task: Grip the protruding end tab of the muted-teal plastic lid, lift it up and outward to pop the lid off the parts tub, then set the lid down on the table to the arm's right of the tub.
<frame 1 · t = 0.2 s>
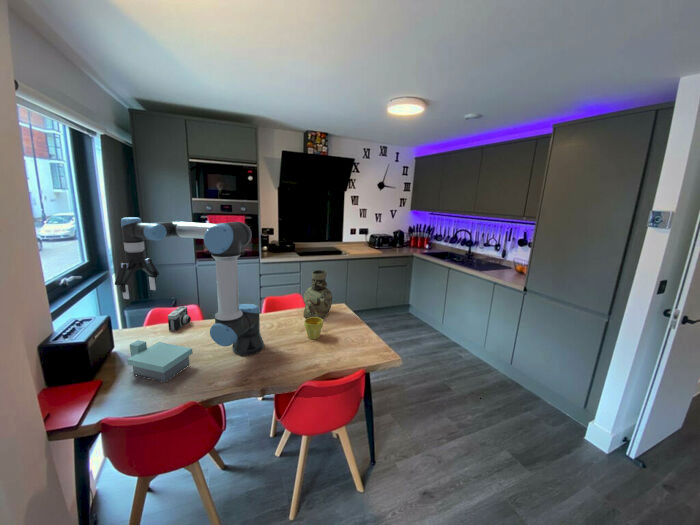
hand: (140, 294, 138), 28 cm above the table, fingers open, 13 cm apart
plant pot: (313, 337, 161), on the table
tub: (162, 370, 125), on the table
camera: (182, 326, 167), on the table
lid: (161, 355, 124), point 7 cm above the table, touching tub
ceramic vessel: (317, 316, 189), on the table
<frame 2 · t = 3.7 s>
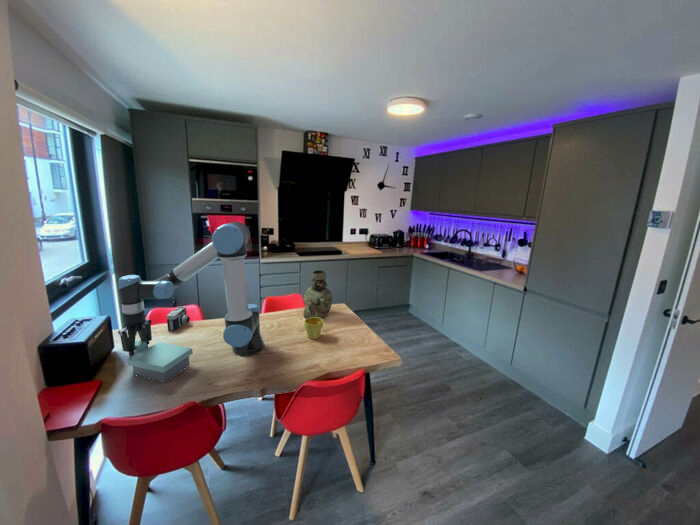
hand: (140, 360, 127), 3 cm above the table, fingers closed on lid, 4 cm apart
lid: (161, 355, 124), point 7 cm above the table, touching gripper, tub
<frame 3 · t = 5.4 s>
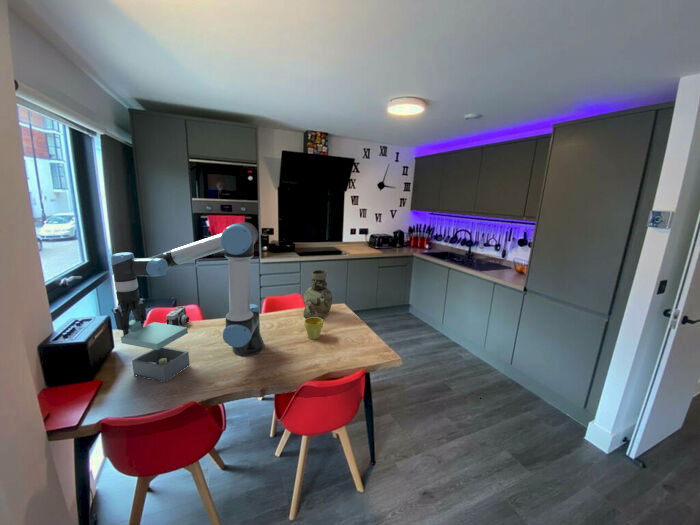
hand: (134, 339, 126), 12 cm above the table, fingers closed on lid, 4 cm apart
lid: (155, 334, 122), point 17 cm above the table, touching gripper
everything else where it was.
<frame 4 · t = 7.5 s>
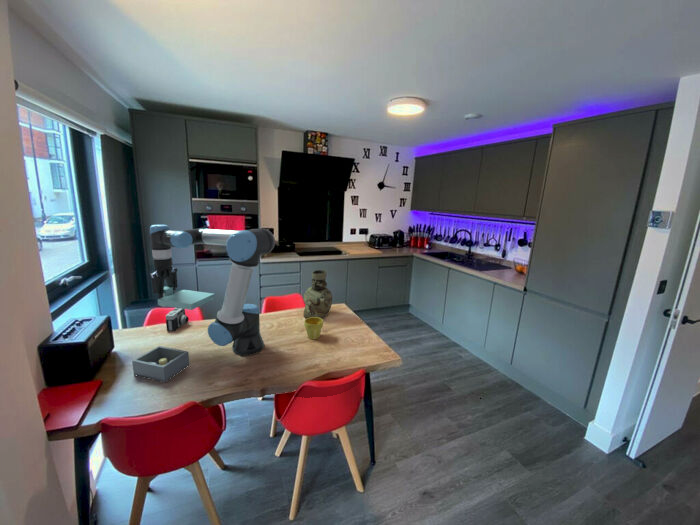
hand: (167, 304, 140), 23 cm above the table, fingers closed on lid, 4 cm apart
lid: (187, 298, 136), point 27 cm above the table, touching gripper
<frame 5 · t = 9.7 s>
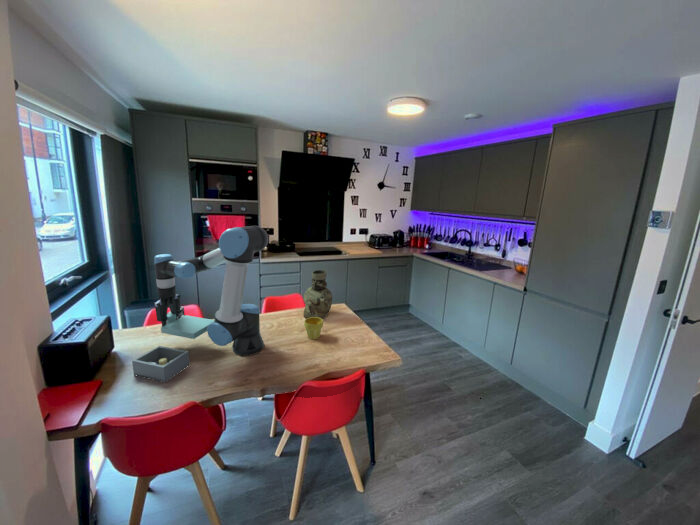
hand: (170, 330, 143), 8 cm above the table, fingers closed on lid, 4 cm apart
lid: (189, 326, 140), point 13 cm above the table, touching gripper
when the fingers open (2 cm above the table, at t = 11.5 s): lid drops 4 cm, point 2 cm above the table.
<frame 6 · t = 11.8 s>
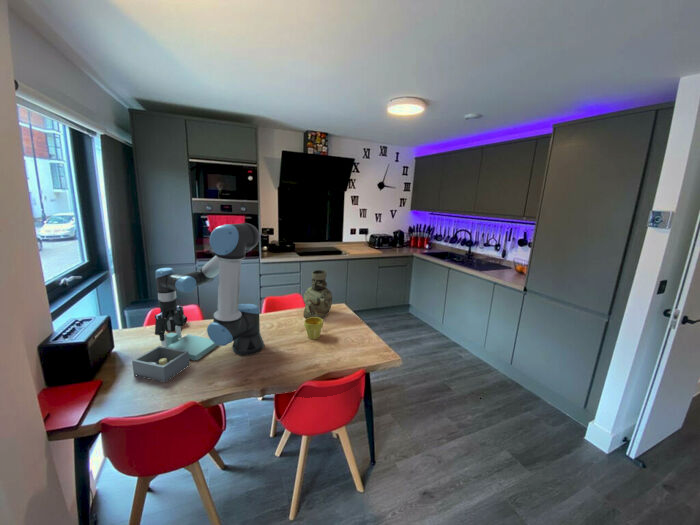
hand: (172, 341, 145), 2 cm above the table, fingers open, 8 cm apart
lid: (191, 346, 142), point 2 cm above the table
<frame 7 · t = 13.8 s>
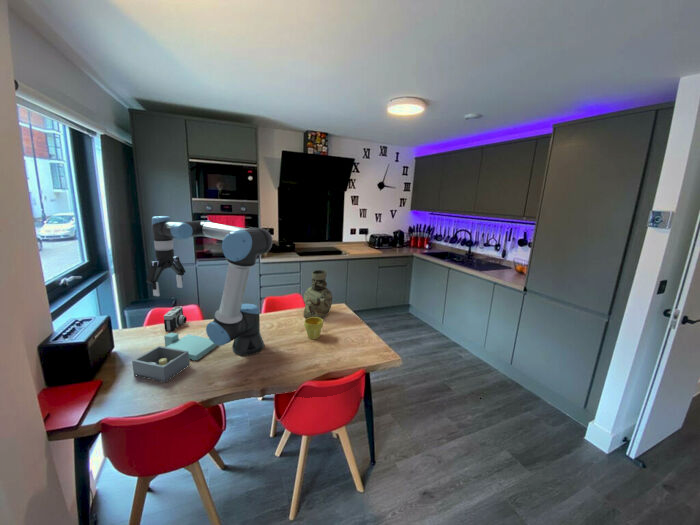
hand: (168, 291, 141), 28 cm above the table, fingers open, 13 cm apart
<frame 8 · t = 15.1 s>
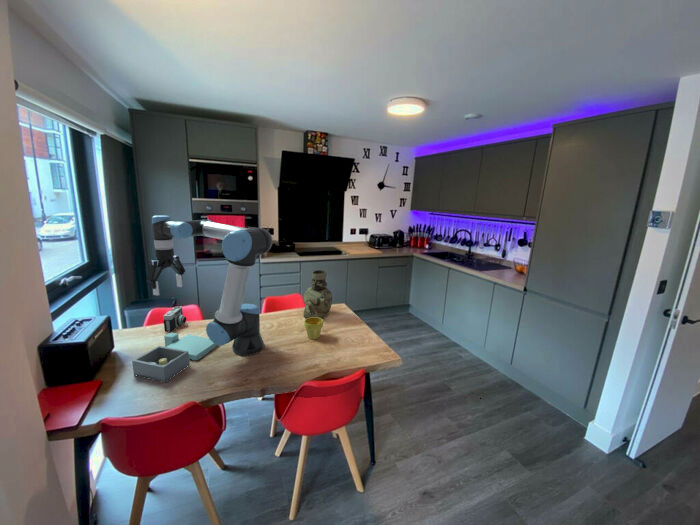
hand: (168, 290, 141), 29 cm above the table, fingers open, 13 cm apart
at the end: lid point 1.7 cm above the table; lid inside the target area (2.9 cm from its centre), point 1.7 cm above the table; the gripper is holding nothing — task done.
